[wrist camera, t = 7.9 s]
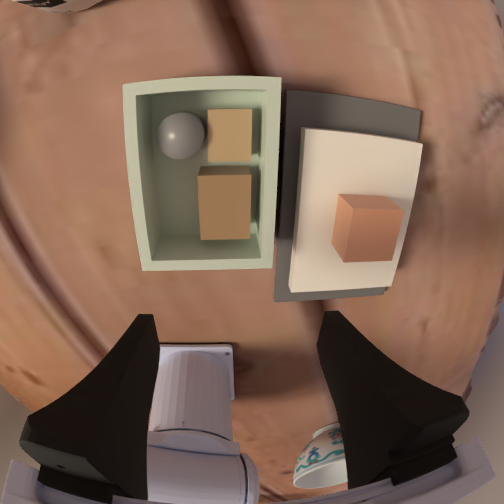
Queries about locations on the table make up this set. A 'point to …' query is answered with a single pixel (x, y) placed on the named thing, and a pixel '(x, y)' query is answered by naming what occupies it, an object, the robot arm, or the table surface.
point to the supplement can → (60, 5)
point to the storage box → (203, 170)
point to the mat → (296, 116)
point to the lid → (351, 209)
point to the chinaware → (322, 460)
